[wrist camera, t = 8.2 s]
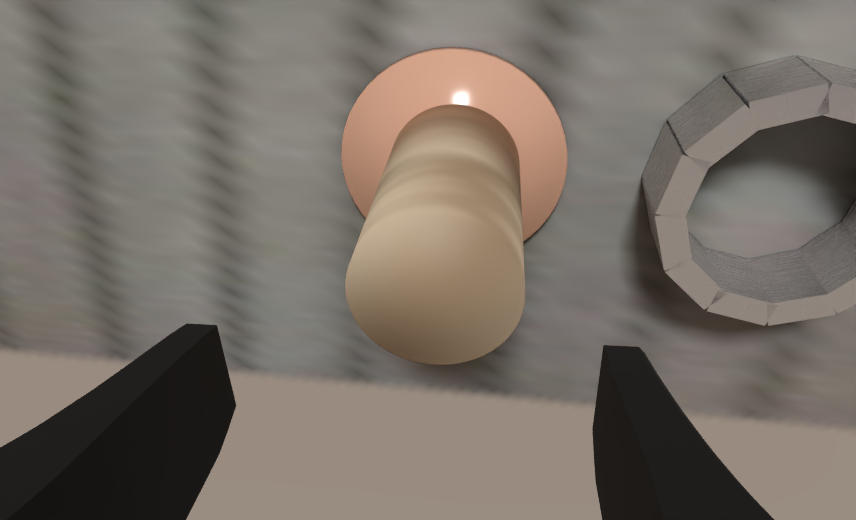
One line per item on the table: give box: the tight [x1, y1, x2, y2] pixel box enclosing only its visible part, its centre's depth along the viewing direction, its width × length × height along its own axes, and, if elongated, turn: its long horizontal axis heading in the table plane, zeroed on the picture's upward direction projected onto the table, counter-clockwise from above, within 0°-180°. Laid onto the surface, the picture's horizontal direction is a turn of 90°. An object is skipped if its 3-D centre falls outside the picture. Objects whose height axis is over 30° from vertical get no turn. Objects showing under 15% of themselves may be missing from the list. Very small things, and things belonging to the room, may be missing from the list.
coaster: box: [342, 47, 567, 241], centre depth 21 cm, size 7×7×1 cm
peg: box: [345, 104, 525, 365], centre depth 18 cm, size 4×4×7 cm
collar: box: [642, 56, 856, 326], centre depth 19 cm, size 7×7×2 cm
